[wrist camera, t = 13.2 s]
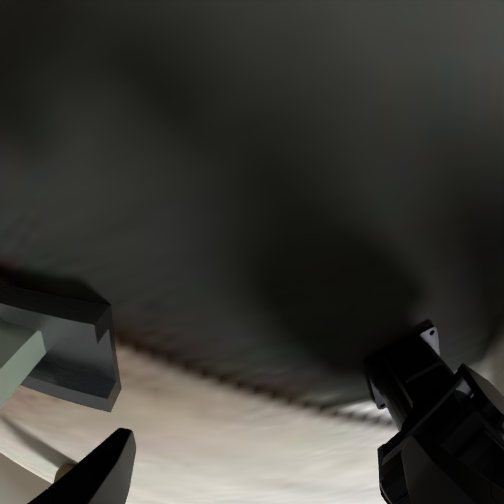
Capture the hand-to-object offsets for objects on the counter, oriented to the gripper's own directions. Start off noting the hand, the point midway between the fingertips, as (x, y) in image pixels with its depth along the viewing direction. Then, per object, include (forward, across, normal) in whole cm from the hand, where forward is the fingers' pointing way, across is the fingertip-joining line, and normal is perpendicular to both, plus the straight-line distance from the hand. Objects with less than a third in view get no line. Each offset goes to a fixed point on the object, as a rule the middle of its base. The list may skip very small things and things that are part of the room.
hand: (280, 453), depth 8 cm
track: (+13, +19, +7) cm, 24 cm away
